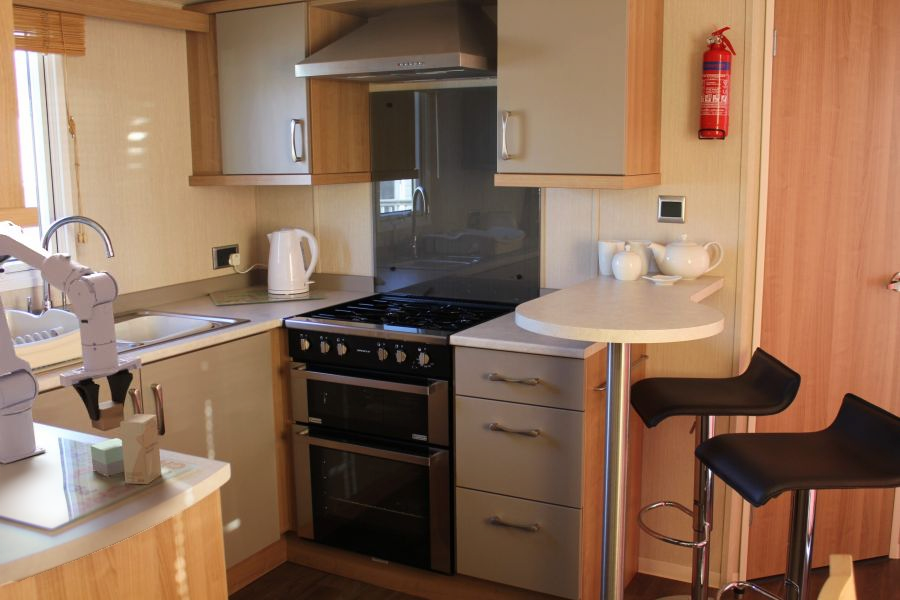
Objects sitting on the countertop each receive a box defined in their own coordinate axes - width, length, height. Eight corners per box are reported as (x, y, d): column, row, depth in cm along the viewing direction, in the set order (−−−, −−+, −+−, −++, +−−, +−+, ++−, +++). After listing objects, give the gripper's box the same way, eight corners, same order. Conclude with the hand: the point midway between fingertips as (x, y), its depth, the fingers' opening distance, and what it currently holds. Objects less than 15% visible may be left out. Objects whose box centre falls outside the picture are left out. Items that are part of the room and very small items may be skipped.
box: (147, 485, 153) (141, 423, 151) (124, 483, 154) (118, 422, 152) (162, 473, 158) (157, 413, 156) (140, 472, 159) (134, 412, 157)
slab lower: (93, 472, 161) (91, 458, 160) (118, 463, 165) (117, 451, 164) (108, 478, 158) (106, 464, 157) (133, 469, 161) (132, 456, 161)
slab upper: (92, 458, 160) (90, 445, 160) (117, 450, 164) (116, 437, 164) (106, 464, 157) (104, 451, 157) (132, 456, 161) (130, 443, 160)
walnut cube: (92, 427, 159) (89, 405, 158) (112, 421, 162) (110, 400, 162) (104, 431, 157) (102, 409, 156) (124, 425, 160) (122, 403, 159)
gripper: (71, 353, 149) (80, 431, 151) (148, 336, 160) (155, 409, 162) (50, 348, 153) (59, 423, 156) (126, 332, 164) (133, 402, 167)
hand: (106, 416), depth 159 cm, fingers closed on walnut cube, 4 cm apart
